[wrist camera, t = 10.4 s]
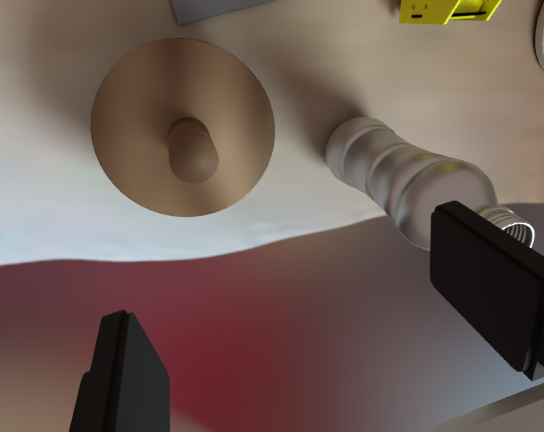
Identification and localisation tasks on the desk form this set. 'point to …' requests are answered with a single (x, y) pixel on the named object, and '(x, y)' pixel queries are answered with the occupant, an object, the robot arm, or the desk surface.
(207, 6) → the mat
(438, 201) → the plastic bottle
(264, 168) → the lid
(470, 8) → the yellow toy chassis
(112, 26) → the desk surface
